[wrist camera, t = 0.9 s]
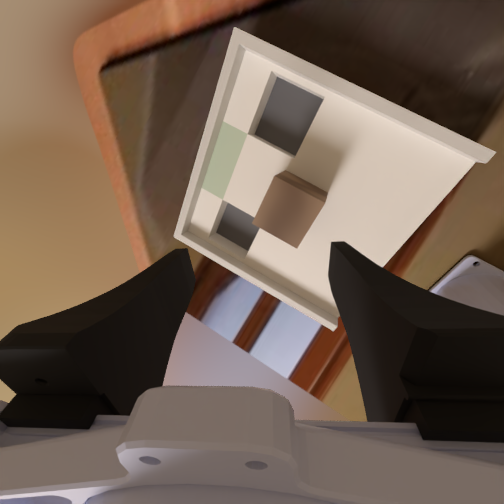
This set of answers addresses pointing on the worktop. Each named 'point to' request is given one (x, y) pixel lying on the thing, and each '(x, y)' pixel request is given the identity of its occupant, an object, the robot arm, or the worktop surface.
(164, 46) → the worktop surface
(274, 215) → the walnut block
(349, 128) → the box
